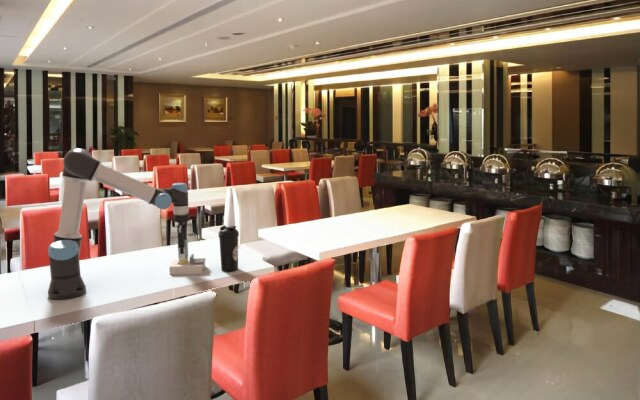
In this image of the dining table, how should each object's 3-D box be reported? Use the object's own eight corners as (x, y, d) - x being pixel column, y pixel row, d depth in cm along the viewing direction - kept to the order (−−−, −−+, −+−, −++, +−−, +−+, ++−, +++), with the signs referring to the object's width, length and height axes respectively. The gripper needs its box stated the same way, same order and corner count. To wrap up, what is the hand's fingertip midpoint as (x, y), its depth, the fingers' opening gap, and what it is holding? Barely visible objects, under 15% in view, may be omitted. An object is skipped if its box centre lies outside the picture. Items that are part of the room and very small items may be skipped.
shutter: (189, 264, 247) (189, 258, 247) (191, 260, 254) (191, 254, 254) (203, 263, 248) (203, 257, 248) (205, 259, 255) (205, 253, 255)
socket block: (169, 274, 245) (169, 266, 244) (174, 267, 256) (173, 259, 256) (202, 273, 246) (201, 265, 246) (205, 266, 258) (204, 259, 258)
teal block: (178, 264, 248) (177, 241, 246) (180, 262, 252) (179, 239, 250) (187, 264, 249) (186, 241, 247) (188, 261, 253) (187, 239, 251)
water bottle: (235, 273, 247) (234, 229, 243) (216, 271, 249) (215, 228, 245) (242, 267, 257) (241, 224, 253) (224, 266, 259) (222, 223, 255)
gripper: (186, 216, 238) (188, 262, 242) (191, 210, 255) (193, 253, 259) (170, 217, 237) (172, 263, 241) (176, 210, 254) (179, 253, 258)
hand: (183, 258), depth 250 cm, fingers closed on teal block, 4 cm apart
